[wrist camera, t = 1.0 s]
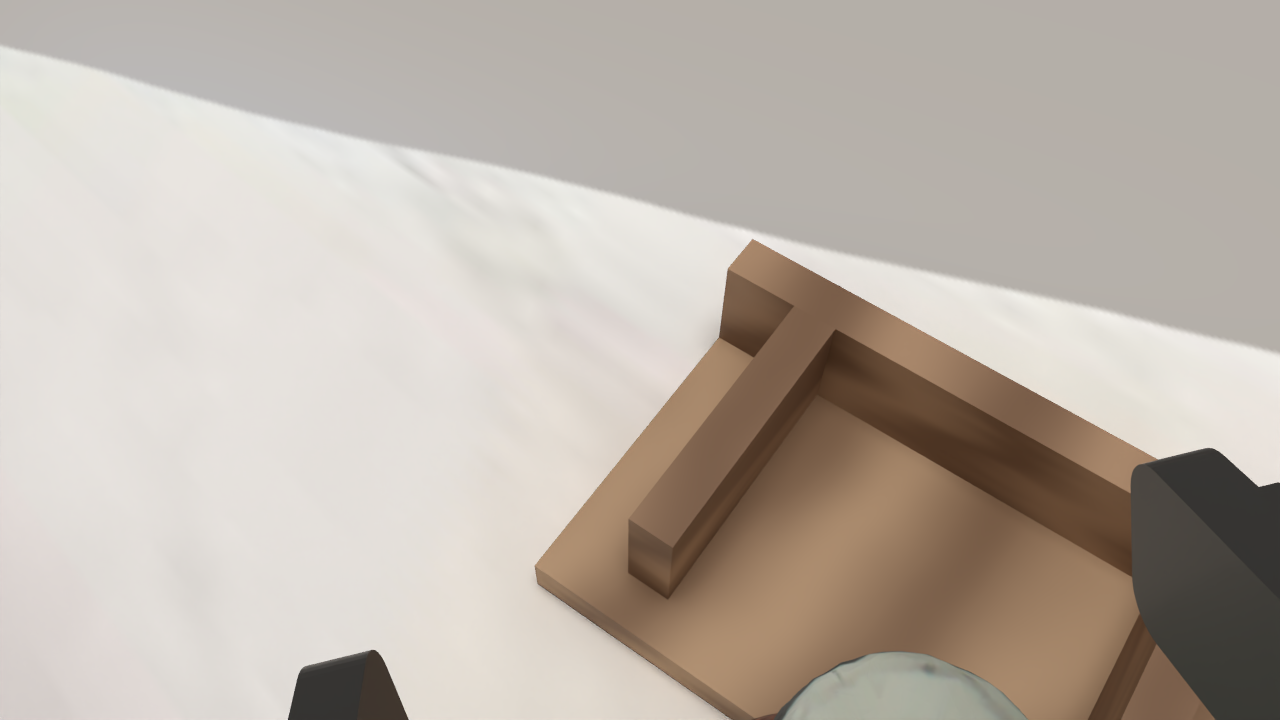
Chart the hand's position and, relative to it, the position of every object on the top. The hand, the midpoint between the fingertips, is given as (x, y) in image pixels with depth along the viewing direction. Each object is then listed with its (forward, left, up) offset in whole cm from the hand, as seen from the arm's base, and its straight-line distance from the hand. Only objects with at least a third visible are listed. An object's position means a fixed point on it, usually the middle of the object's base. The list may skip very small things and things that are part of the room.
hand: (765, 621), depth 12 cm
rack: (+1, +11, -23) cm, 26 cm away
